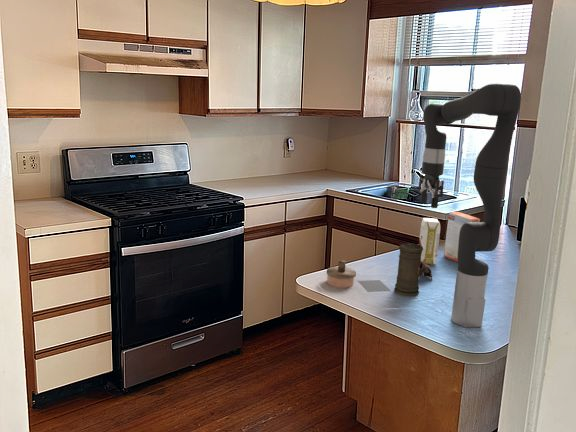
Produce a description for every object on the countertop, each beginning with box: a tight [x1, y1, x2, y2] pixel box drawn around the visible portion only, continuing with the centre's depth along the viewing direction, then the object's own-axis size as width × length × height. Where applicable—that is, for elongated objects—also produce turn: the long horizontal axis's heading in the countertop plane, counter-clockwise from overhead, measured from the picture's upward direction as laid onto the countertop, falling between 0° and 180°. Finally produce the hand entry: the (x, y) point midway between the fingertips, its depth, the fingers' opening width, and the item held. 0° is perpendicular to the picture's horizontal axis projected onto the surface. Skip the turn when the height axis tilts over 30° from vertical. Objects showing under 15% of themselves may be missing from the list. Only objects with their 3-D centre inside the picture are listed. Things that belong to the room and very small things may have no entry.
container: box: [393, 242, 423, 297], centre depth 195 cm, size 9×9×18 cm
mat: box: [357, 279, 392, 293], centre depth 201 cm, size 11×9×1 cm
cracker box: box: [443, 211, 481, 263], centre depth 237 cm, size 14×6×21 cm, turn 22°
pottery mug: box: [419, 261, 433, 281], centre depth 213 cm, size 12×10×8 cm
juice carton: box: [418, 217, 441, 266], centre depth 232 cm, size 8×9×19 cm
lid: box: [326, 259, 357, 279], centre depth 201 cm, size 11×11×5 cm
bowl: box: [326, 274, 355, 289], centre depth 202 cm, size 10×10×4 cm
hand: (428, 205), depth 195 cm, fingers open, 8 cm apart
